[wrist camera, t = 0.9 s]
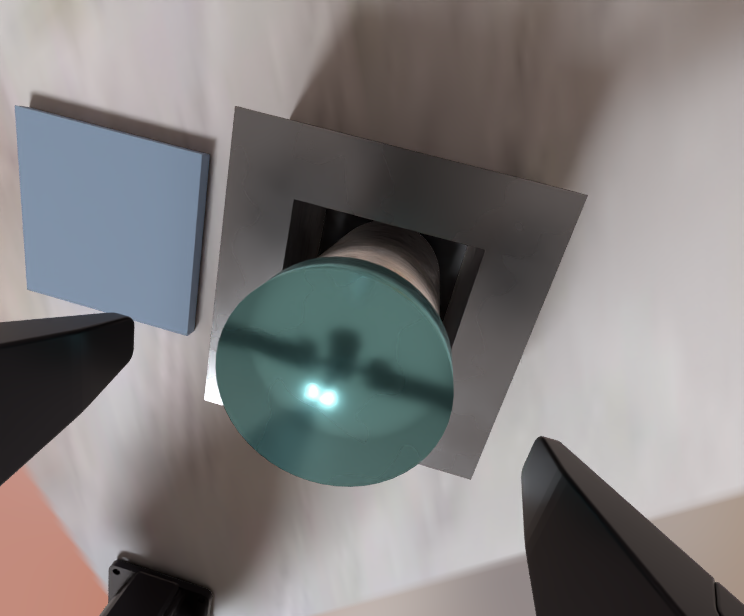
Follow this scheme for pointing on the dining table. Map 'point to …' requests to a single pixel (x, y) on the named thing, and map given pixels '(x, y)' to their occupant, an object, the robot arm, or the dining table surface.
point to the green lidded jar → (342, 360)
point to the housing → (410, 211)
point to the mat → (111, 218)
